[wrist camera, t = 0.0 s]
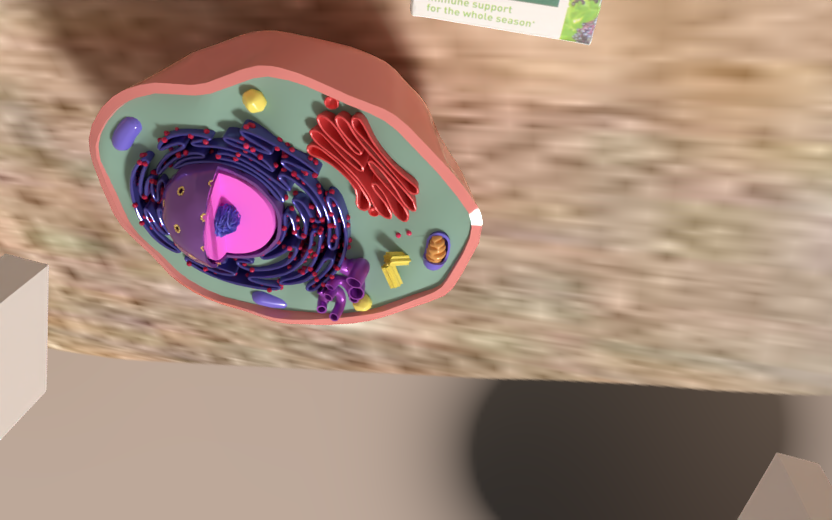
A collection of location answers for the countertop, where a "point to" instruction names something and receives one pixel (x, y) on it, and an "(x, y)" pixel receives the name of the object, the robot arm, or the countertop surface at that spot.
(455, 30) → the countertop surface
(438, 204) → the cell model
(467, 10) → the syrup box
